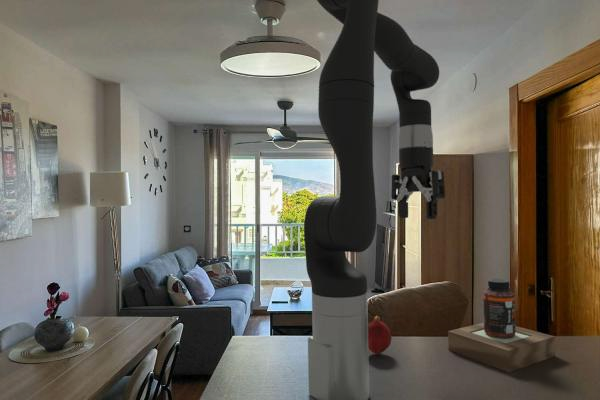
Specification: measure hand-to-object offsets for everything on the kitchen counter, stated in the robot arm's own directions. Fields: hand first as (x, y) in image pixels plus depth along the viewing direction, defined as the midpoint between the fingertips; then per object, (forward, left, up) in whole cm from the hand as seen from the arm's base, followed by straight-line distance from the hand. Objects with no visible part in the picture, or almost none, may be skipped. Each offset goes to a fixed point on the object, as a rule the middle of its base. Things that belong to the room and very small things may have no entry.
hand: (417, 218), depth 95 cm
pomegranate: (-13, -1, -28) cm, 31 cm away
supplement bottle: (+9, -14, -24) cm, 29 cm away
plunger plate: (+9, -14, -25) cm, 30 cm away
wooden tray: (+9, -14, -28) cm, 33 cm away
